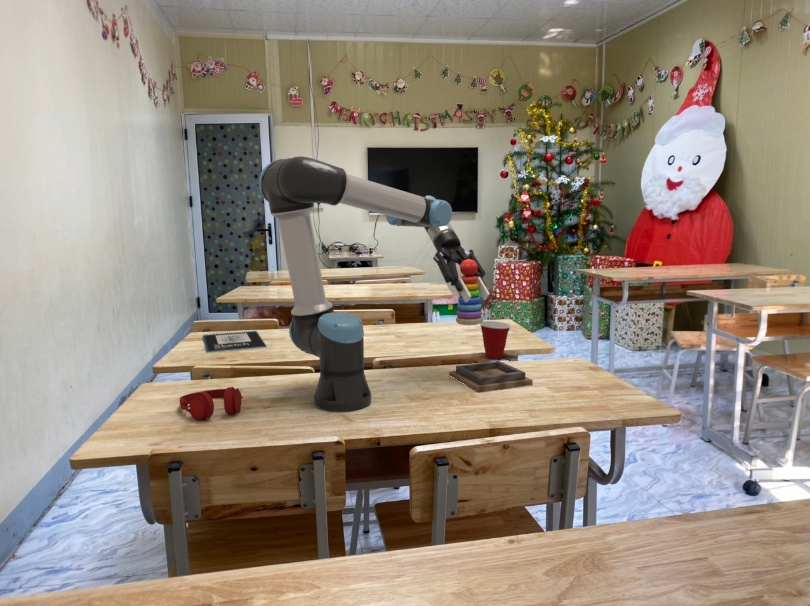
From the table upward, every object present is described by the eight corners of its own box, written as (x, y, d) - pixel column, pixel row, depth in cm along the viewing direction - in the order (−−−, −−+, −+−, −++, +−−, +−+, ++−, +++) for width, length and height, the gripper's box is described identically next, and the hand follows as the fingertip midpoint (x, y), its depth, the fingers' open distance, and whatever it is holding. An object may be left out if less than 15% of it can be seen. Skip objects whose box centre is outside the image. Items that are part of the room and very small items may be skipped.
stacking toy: (488, 323, 173) (488, 259, 169) (468, 327, 168) (467, 261, 165) (470, 319, 179) (470, 257, 176) (450, 323, 174) (449, 259, 171)
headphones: (251, 414, 149) (232, 403, 166) (248, 386, 149) (230, 378, 166) (189, 425, 142) (176, 413, 159) (186, 396, 141) (174, 386, 159)
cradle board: (477, 392, 165) (478, 380, 165) (449, 376, 182) (449, 365, 181) (532, 384, 172) (532, 373, 171) (500, 369, 188) (500, 359, 188)
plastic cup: (510, 361, 198) (511, 326, 197) (478, 360, 201) (478, 325, 199) (511, 354, 209) (511, 320, 207) (480, 352, 211) (480, 319, 209)
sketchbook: (206, 355, 216) (206, 349, 215) (202, 338, 243) (202, 333, 243) (266, 349, 223) (266, 343, 223) (256, 333, 251) (256, 329, 251)
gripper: (464, 244, 188) (497, 302, 177) (413, 248, 178) (445, 309, 167) (474, 228, 182) (509, 286, 171) (422, 231, 173) (456, 293, 162)
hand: (477, 298), depth 169 cm, fingers closed on stacking toy, 6 cm apart
